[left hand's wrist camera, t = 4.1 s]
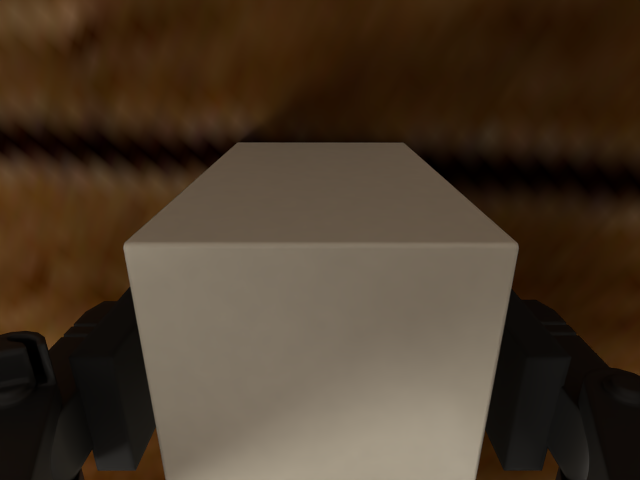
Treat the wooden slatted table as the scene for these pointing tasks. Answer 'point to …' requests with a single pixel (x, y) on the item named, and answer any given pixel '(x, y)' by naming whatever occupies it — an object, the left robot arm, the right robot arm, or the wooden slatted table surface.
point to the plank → (320, 317)
